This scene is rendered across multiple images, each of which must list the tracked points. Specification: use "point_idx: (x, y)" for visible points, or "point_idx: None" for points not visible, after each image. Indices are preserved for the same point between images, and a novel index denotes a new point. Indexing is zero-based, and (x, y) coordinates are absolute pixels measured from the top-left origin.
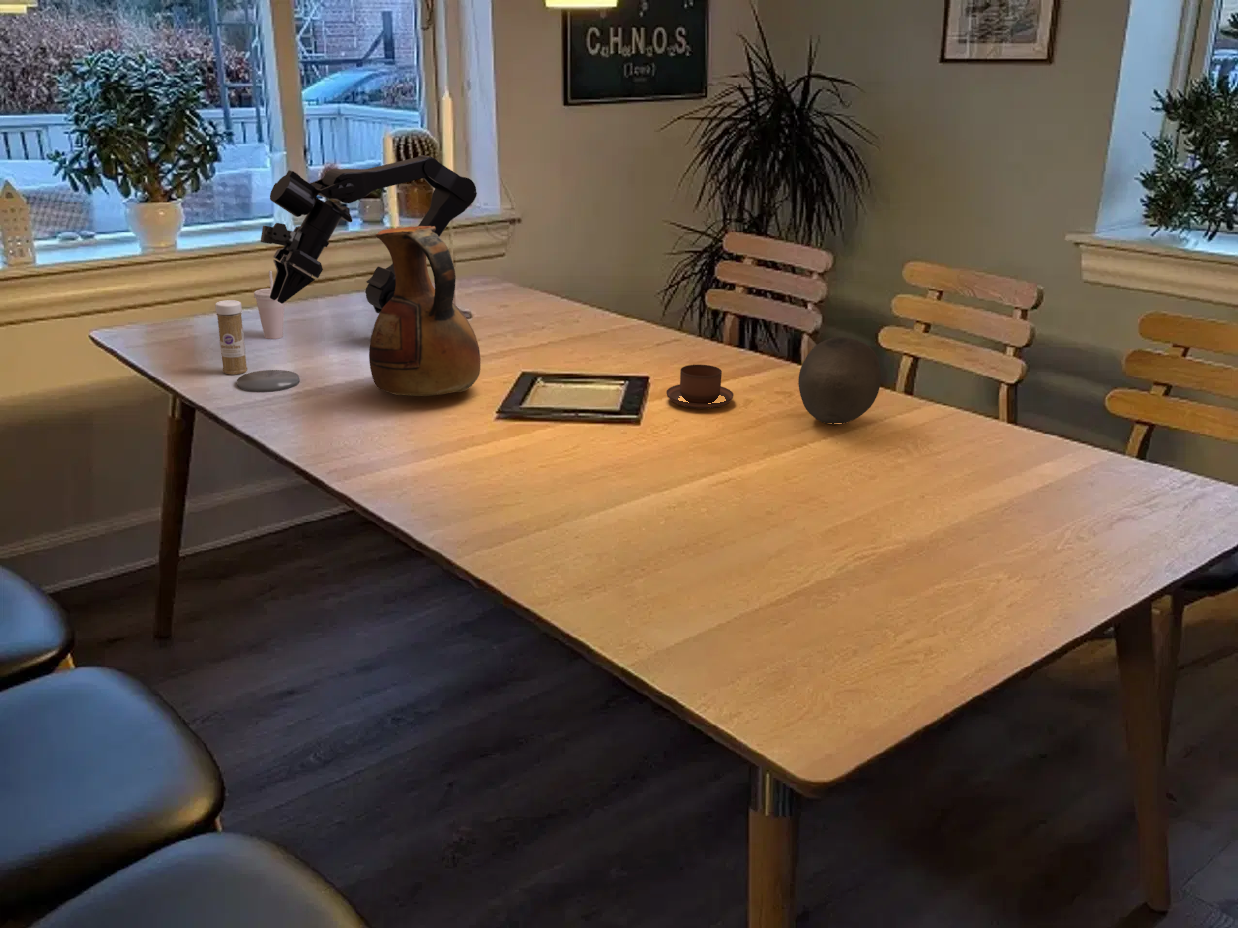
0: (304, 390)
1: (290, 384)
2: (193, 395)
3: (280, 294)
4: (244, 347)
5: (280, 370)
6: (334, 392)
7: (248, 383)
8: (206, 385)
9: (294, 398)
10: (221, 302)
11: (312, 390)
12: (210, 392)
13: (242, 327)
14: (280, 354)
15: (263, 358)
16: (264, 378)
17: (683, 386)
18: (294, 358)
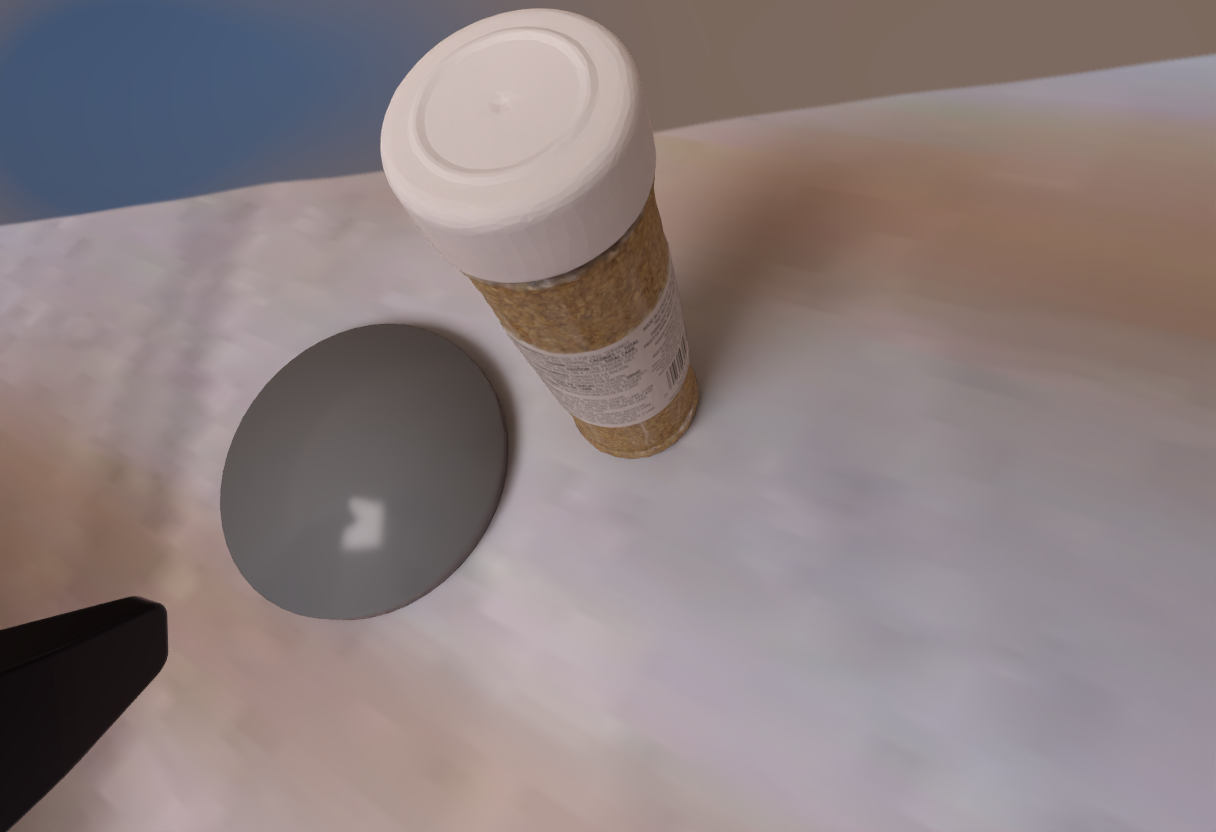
0: (165, 553)
1: (224, 515)
2: None
3: (2, 632)
4: (558, 397)
5: (429, 572)
6: None
7: (356, 358)
8: None
9: (122, 468)
10: (546, 51)
11: (138, 584)
12: None
13: (533, 344)
14: (857, 799)
15: (819, 647)
16: (369, 445)
17: None
18: (699, 827)
